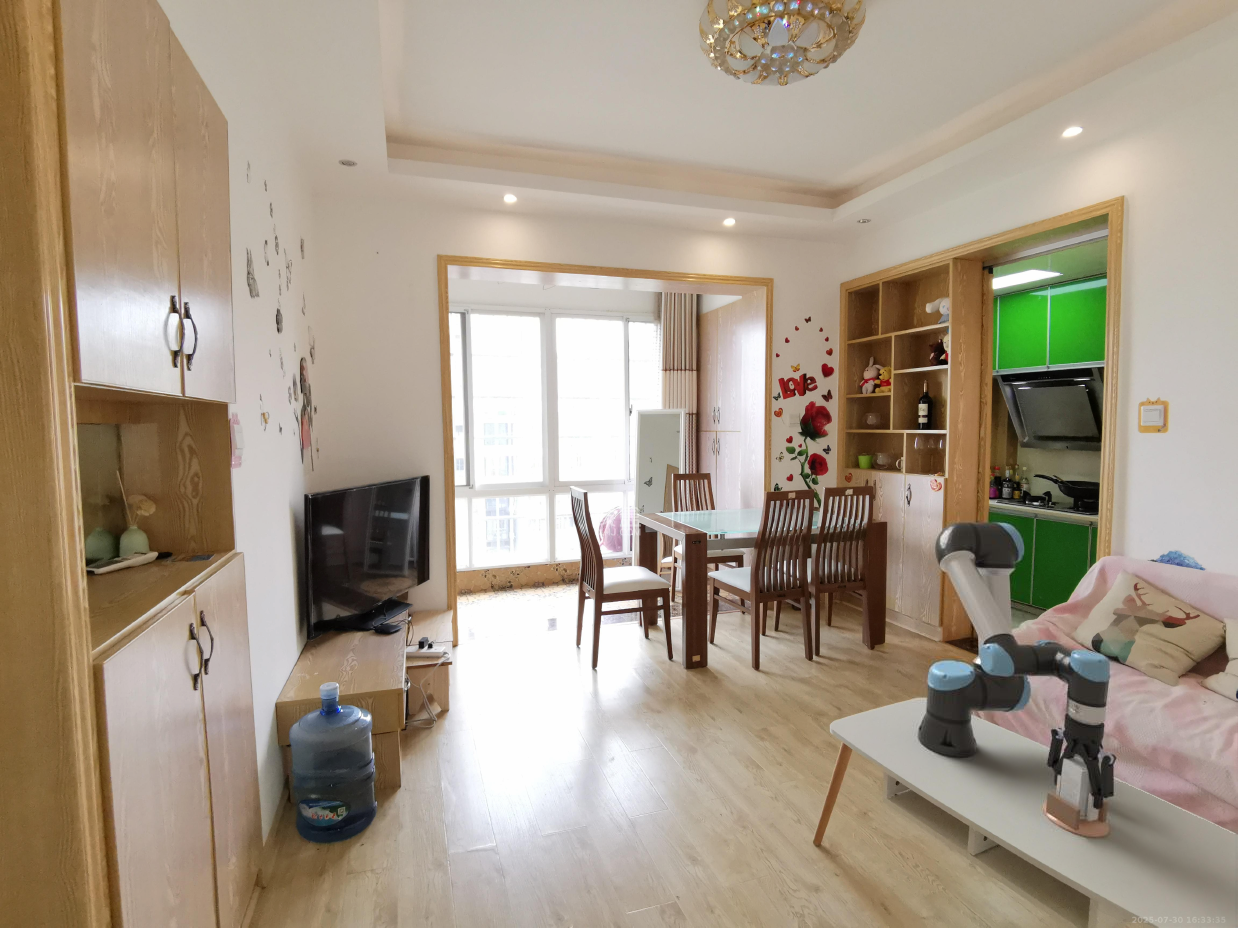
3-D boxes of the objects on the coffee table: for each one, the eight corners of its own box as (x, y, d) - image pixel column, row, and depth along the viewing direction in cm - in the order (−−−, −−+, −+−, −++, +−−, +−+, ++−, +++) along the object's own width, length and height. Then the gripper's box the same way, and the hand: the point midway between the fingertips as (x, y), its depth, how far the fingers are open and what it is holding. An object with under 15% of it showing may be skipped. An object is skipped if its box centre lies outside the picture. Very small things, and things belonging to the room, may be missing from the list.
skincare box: (1094, 819, 148) (1099, 770, 147) (1077, 819, 148) (1082, 771, 147) (1074, 802, 154) (1078, 756, 153) (1057, 803, 154) (1062, 756, 153)
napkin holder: (1030, 807, 155) (1031, 786, 155) (1067, 797, 160) (1069, 776, 159) (1084, 842, 143) (1086, 819, 143) (1123, 830, 147) (1125, 808, 147)
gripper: (1033, 700, 157) (1026, 788, 159) (1118, 741, 138) (1108, 839, 141) (1055, 696, 159) (1047, 782, 162) (1141, 735, 141) (1131, 832, 143)
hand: (1076, 808), depth 151 cm, fingers closed on skincare box, 7 cm apart
